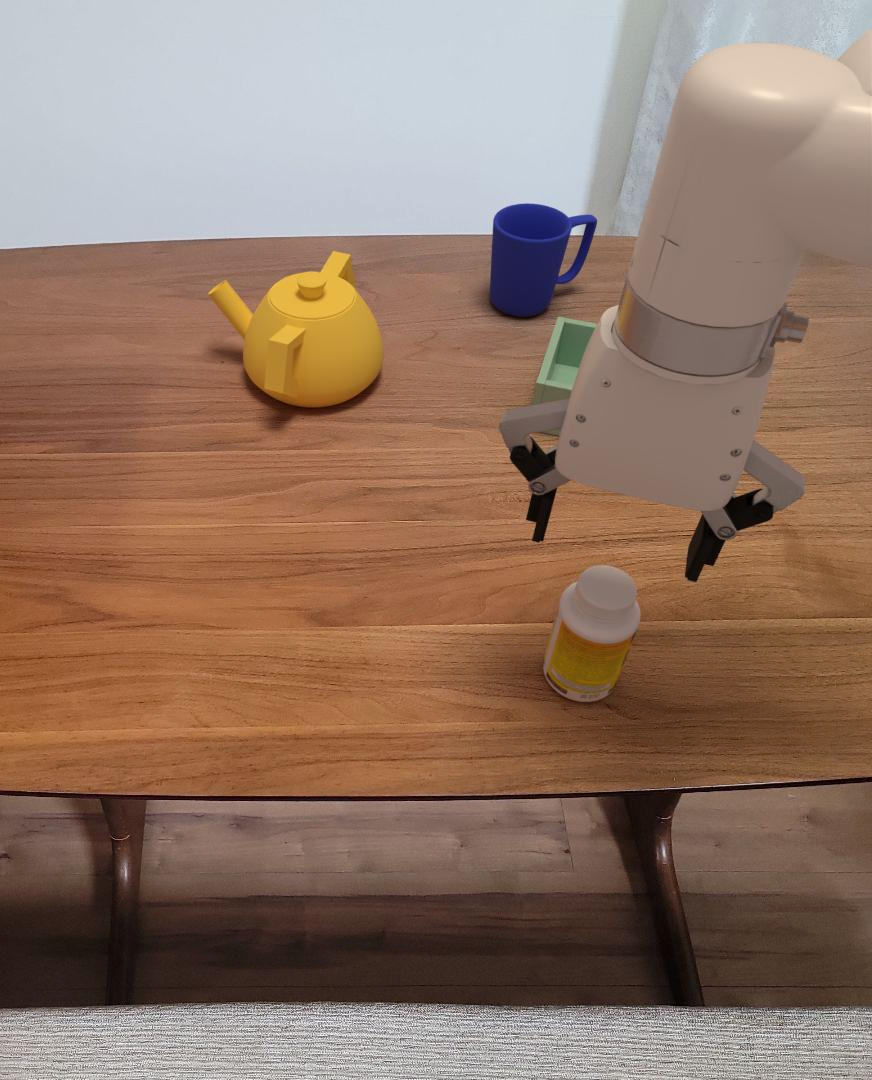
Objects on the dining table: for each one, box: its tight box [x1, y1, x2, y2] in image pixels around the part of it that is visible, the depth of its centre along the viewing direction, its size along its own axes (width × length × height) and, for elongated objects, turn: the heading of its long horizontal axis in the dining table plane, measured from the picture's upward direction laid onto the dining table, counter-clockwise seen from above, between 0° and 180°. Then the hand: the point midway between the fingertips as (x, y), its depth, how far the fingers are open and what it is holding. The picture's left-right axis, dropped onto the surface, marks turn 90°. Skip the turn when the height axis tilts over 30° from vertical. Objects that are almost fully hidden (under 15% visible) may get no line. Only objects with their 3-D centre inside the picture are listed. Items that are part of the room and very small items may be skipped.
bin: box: [531, 316, 598, 437], centre depth 90 cm, size 13×12×6 cm
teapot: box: [207, 250, 384, 408], centre depth 92 cm, size 20×18×11 cm
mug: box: [489, 203, 598, 318], centre depth 102 cm, size 8×12×10 cm
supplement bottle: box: [542, 564, 642, 703], centre depth 66 cm, size 6×6×10 cm
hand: (614, 546), depth 60 cm, fingers open, 9 cm apart
